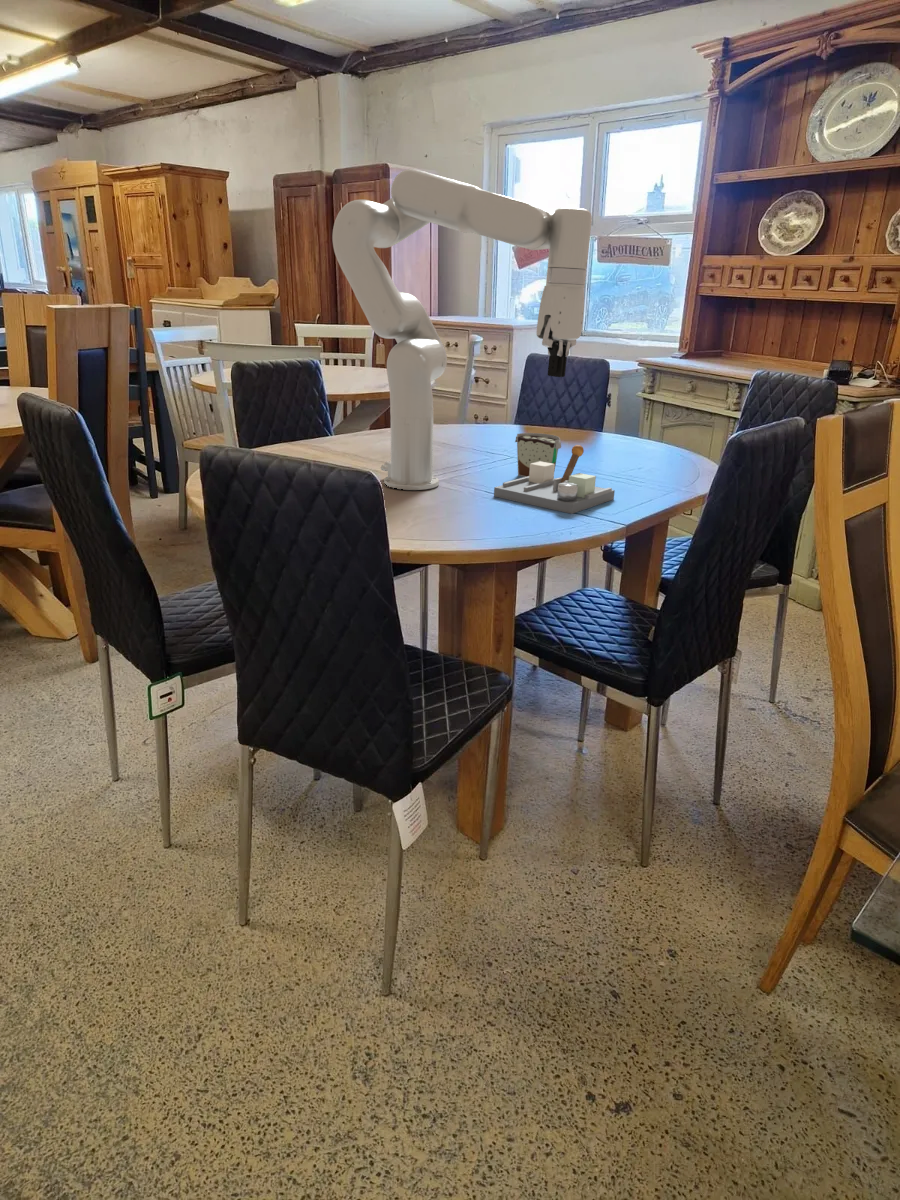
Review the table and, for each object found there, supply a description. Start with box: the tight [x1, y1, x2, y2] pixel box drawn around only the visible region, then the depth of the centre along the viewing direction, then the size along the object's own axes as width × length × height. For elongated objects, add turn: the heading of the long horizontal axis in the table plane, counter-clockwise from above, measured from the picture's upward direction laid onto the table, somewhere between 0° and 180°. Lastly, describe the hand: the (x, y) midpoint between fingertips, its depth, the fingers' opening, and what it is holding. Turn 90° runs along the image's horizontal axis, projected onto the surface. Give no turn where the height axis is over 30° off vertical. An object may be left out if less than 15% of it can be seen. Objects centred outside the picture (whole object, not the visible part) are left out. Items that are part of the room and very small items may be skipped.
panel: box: [493, 476, 616, 515], centre depth 165 cm, size 20×17×4 cm
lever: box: [560, 444, 585, 483], centre depth 164 cm, size 3×3×10 cm
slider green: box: [569, 472, 597, 498], centre depth 160 cm, size 4×4×4 cm
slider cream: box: [529, 461, 556, 483], centre depth 171 cm, size 4×4×4 cm
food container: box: [514, 432, 562, 478], centre depth 184 cm, size 12×6×10 cm, turn 47°
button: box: [557, 483, 578, 502], centre depth 156 cm, size 4×4×3 cm
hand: (556, 376), depth 155 cm, fingers closed
